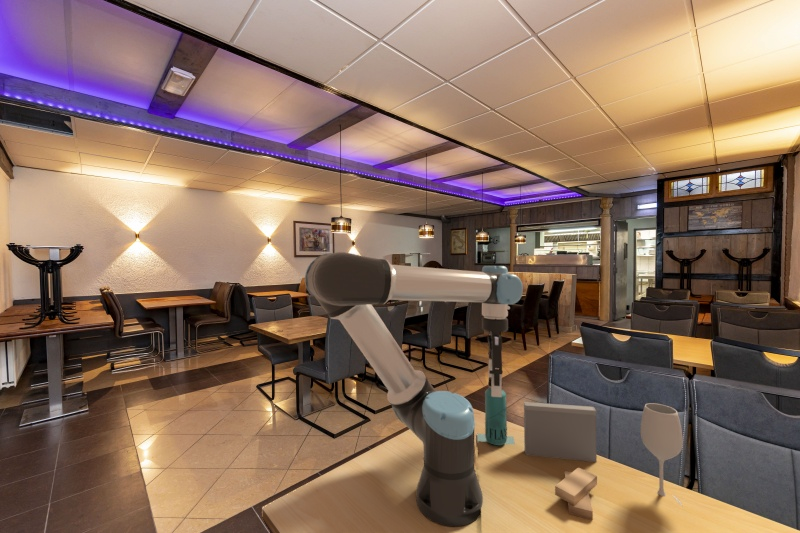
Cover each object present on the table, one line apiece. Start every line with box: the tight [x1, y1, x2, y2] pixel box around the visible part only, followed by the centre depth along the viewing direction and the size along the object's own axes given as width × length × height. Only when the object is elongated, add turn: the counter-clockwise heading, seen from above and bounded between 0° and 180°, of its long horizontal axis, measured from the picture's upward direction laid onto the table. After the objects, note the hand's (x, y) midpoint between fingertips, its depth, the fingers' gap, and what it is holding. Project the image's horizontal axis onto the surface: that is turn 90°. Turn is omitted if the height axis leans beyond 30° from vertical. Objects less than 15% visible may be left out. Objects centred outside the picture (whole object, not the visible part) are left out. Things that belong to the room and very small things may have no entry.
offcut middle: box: [564, 470, 594, 521], centre depth 75 cm, size 13×4×2 cm, turn 157°
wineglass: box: [640, 402, 684, 507], centre depth 76 cm, size 8×8×21 cm
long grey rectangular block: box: [523, 401, 598, 463], centre depth 91 cm, size 18×2×15 cm, turn 78°
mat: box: [476, 433, 516, 455], centre depth 99 cm, size 11×11×1 cm
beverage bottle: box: [484, 377, 508, 446], centre depth 99 cm, size 6×7×20 cm
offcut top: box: [554, 467, 598, 506], centre depth 75 cm, size 11×4×2 cm, turn 127°
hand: (494, 387), depth 99 cm, fingers open, 13 cm apart
